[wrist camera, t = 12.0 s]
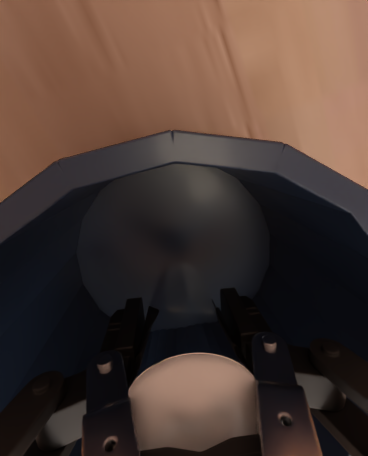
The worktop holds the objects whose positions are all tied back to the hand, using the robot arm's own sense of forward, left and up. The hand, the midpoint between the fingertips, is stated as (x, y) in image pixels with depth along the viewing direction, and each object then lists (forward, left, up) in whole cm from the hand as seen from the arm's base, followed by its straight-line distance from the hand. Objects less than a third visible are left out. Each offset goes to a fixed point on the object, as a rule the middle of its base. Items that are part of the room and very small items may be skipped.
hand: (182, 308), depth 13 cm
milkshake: (0, 0, -3) cm, 3 cm away
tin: (0, 0, -7) cm, 7 cm away
